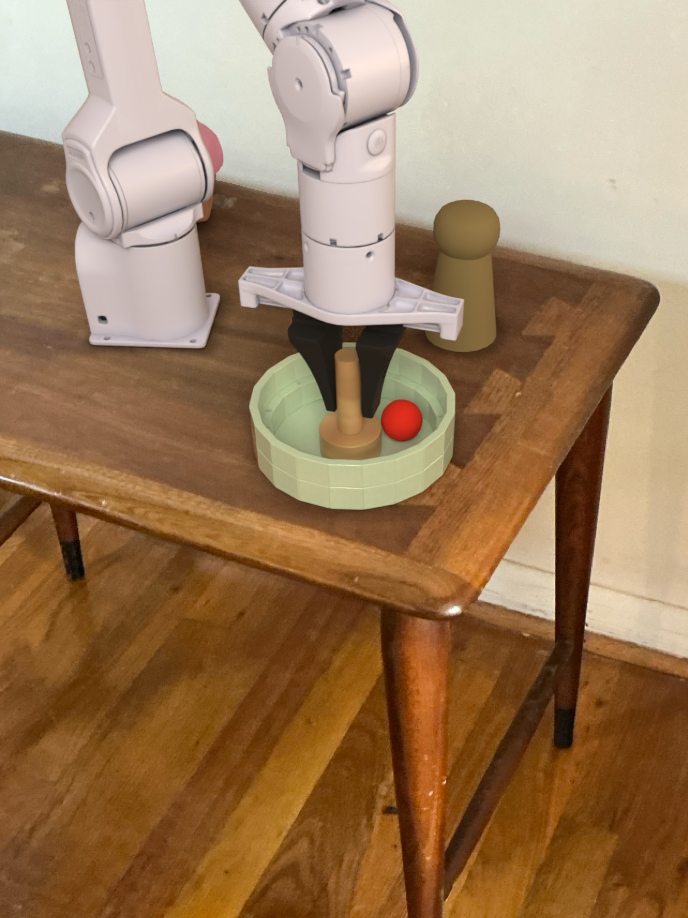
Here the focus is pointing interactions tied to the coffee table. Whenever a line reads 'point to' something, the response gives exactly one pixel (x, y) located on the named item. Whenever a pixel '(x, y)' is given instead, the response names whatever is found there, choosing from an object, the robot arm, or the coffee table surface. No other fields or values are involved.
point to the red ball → (401, 420)
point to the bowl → (350, 481)
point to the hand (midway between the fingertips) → (353, 406)
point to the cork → (467, 270)
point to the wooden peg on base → (349, 416)
